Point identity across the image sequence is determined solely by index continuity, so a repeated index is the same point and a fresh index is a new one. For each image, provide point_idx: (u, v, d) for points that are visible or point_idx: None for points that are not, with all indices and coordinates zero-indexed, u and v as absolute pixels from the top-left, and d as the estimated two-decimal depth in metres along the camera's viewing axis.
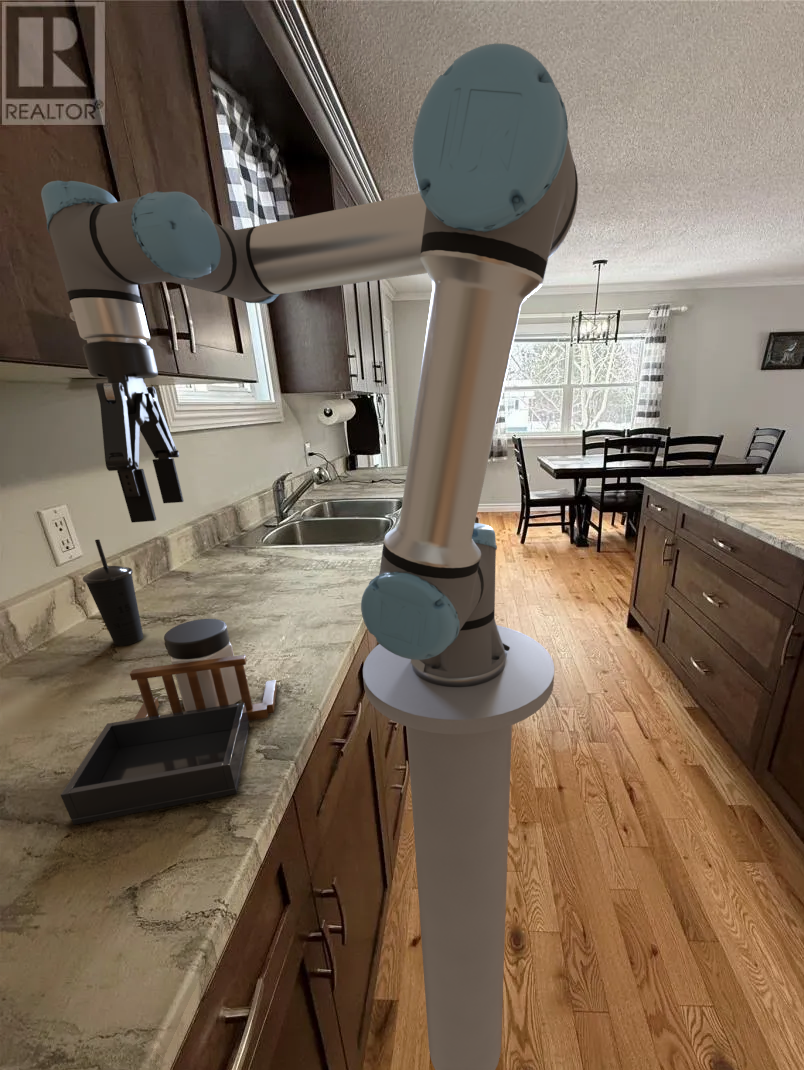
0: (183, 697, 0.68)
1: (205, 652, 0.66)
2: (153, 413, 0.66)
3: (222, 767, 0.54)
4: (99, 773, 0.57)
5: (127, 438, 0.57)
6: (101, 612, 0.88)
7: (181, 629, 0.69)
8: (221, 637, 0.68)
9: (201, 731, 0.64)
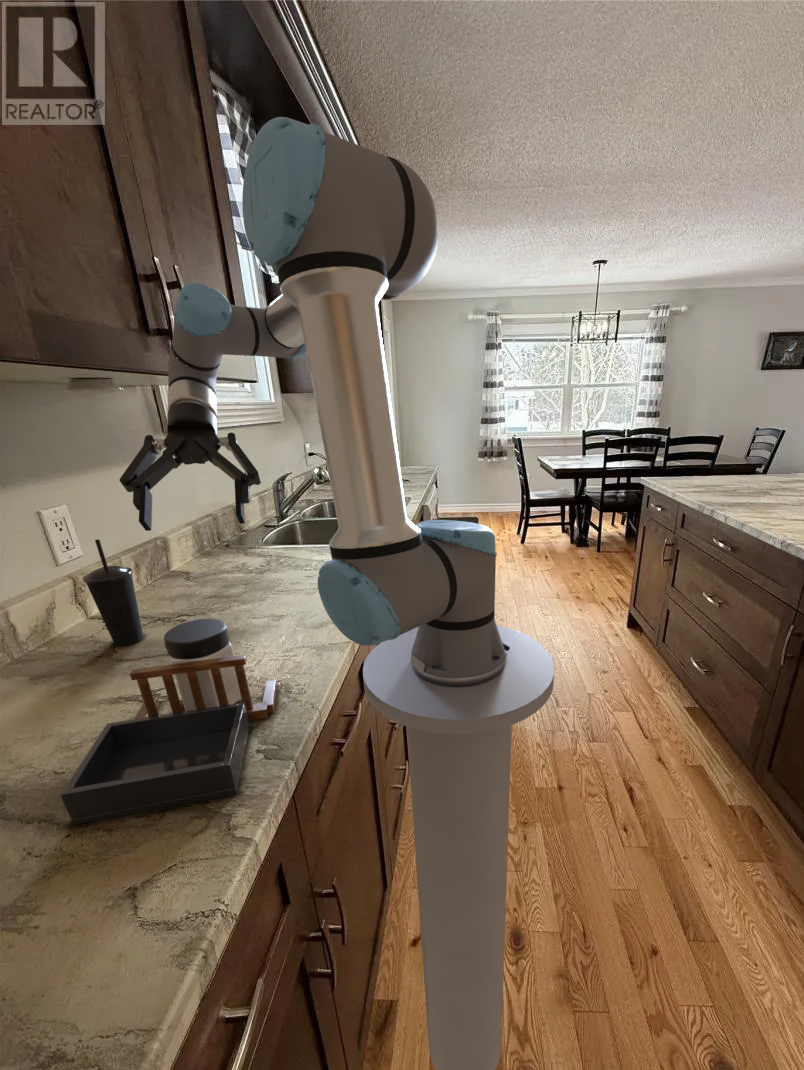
0: (183, 697, 0.68)
1: (205, 652, 0.66)
2: (204, 448, 0.78)
3: (222, 767, 0.54)
4: (99, 773, 0.57)
5: (132, 466, 0.75)
6: (101, 612, 0.88)
7: (181, 629, 0.69)
8: (221, 637, 0.68)
9: (201, 731, 0.64)
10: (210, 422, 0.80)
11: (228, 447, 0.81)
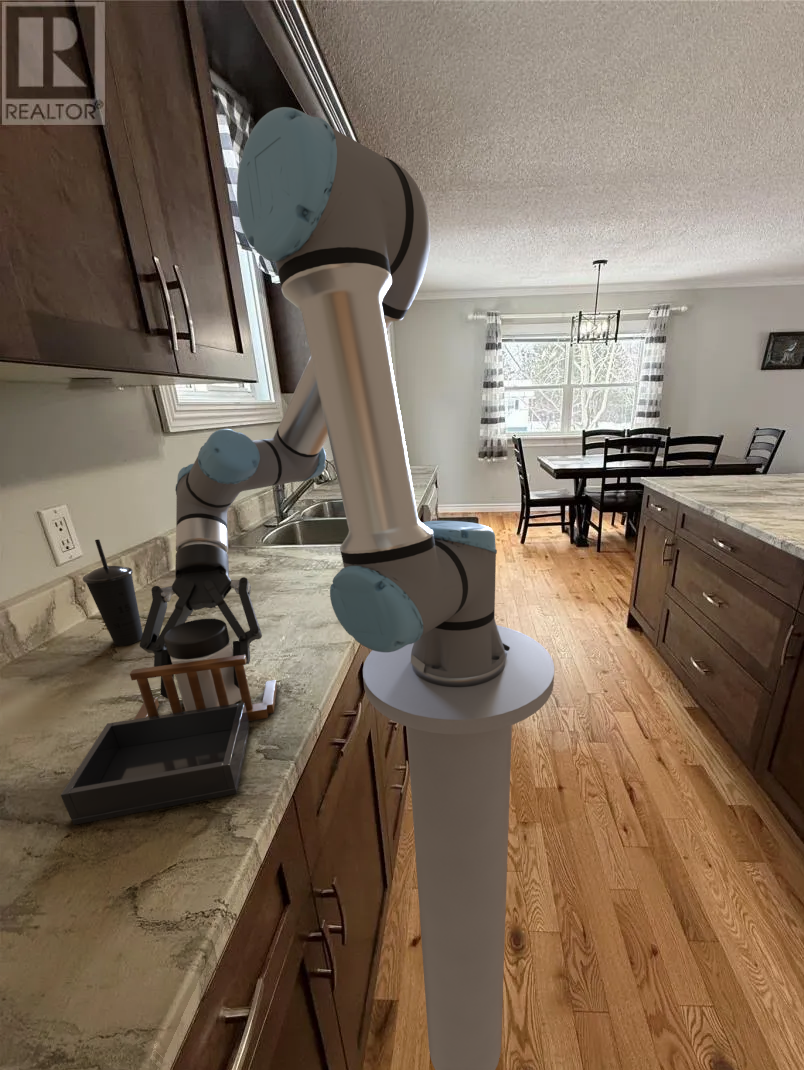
0: (183, 697, 0.68)
1: (205, 652, 0.66)
2: (211, 596, 0.73)
3: (222, 767, 0.54)
4: (99, 773, 0.57)
5: (148, 626, 0.70)
6: (101, 612, 0.88)
7: (181, 629, 0.69)
8: (221, 637, 0.68)
9: (201, 731, 0.64)
10: (221, 564, 0.75)
11: (237, 592, 0.75)
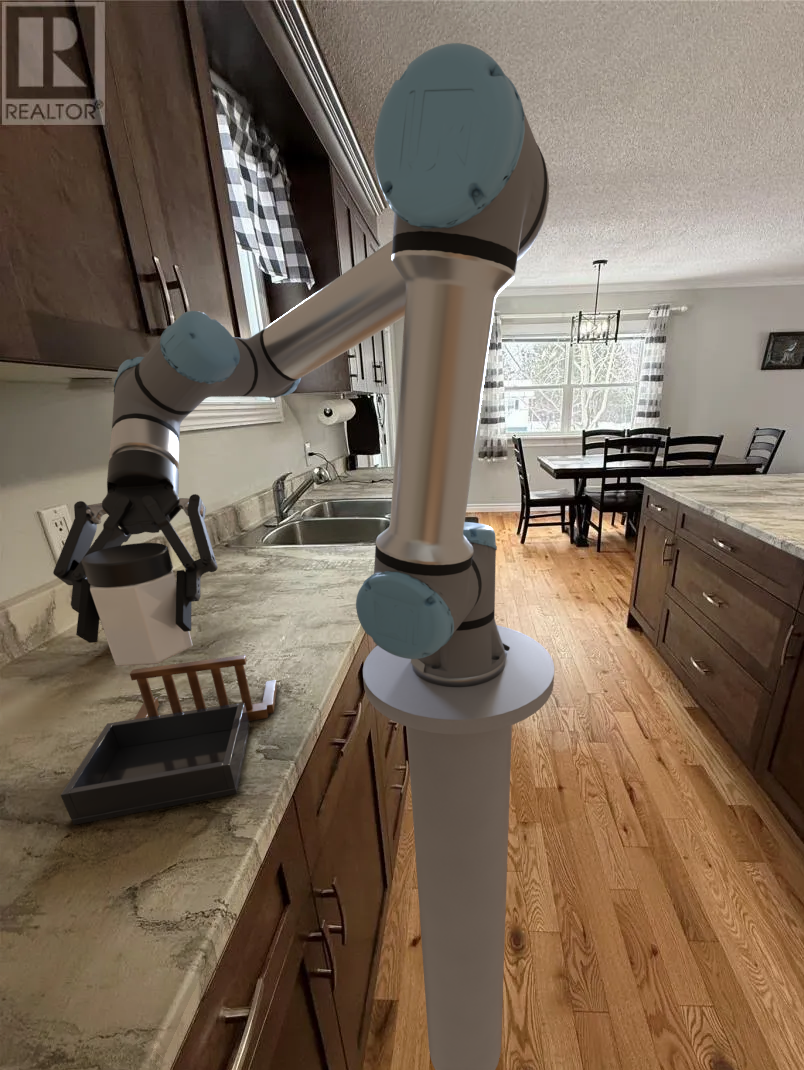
0: (109, 639, 0.52)
1: (135, 578, 0.50)
2: (151, 515, 0.57)
3: (222, 767, 0.54)
4: (99, 773, 0.57)
5: (66, 550, 0.54)
6: None
7: (107, 552, 0.53)
8: (158, 561, 0.52)
9: (201, 731, 0.64)
10: (166, 476, 0.59)
11: (187, 513, 0.59)
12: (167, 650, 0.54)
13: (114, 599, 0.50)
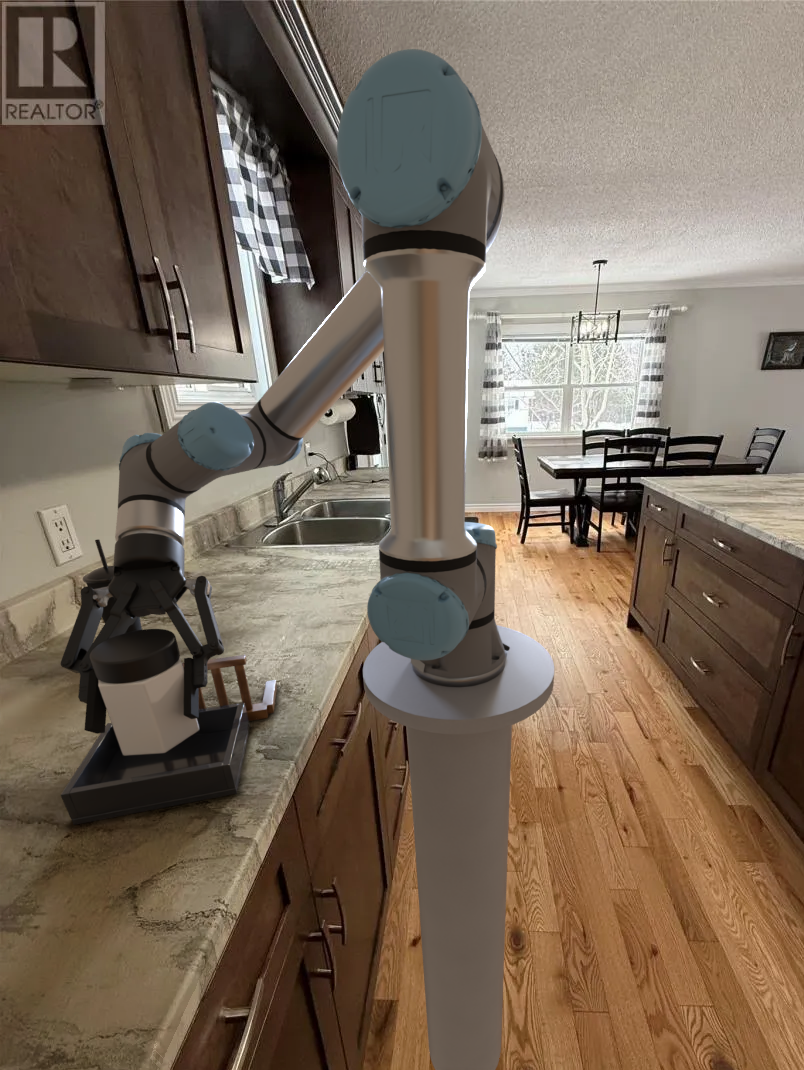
0: (117, 731, 0.52)
1: (143, 674, 0.51)
2: (158, 600, 0.57)
3: (222, 767, 0.54)
4: (99, 773, 0.57)
5: (73, 639, 0.54)
6: None
7: (115, 643, 0.53)
8: (166, 654, 0.52)
9: (201, 731, 0.64)
10: (173, 558, 0.59)
11: (194, 595, 0.59)
12: (174, 738, 0.55)
13: (122, 694, 0.51)
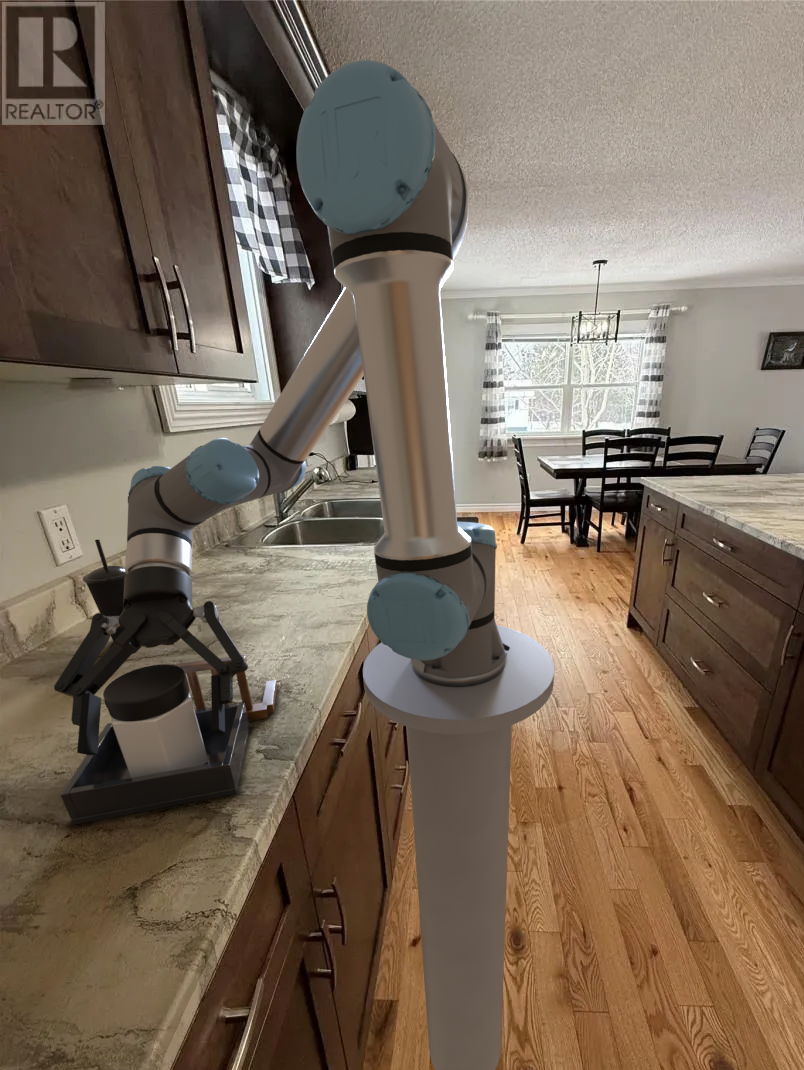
0: (129, 766, 0.54)
1: (155, 712, 0.52)
2: (172, 630, 0.59)
3: (222, 767, 0.54)
4: (99, 773, 0.57)
5: (73, 664, 0.56)
6: (101, 612, 0.88)
7: (127, 680, 0.55)
8: (177, 691, 0.54)
9: (201, 731, 0.64)
10: (181, 590, 0.61)
11: (205, 621, 0.61)
12: None
13: (135, 731, 0.52)
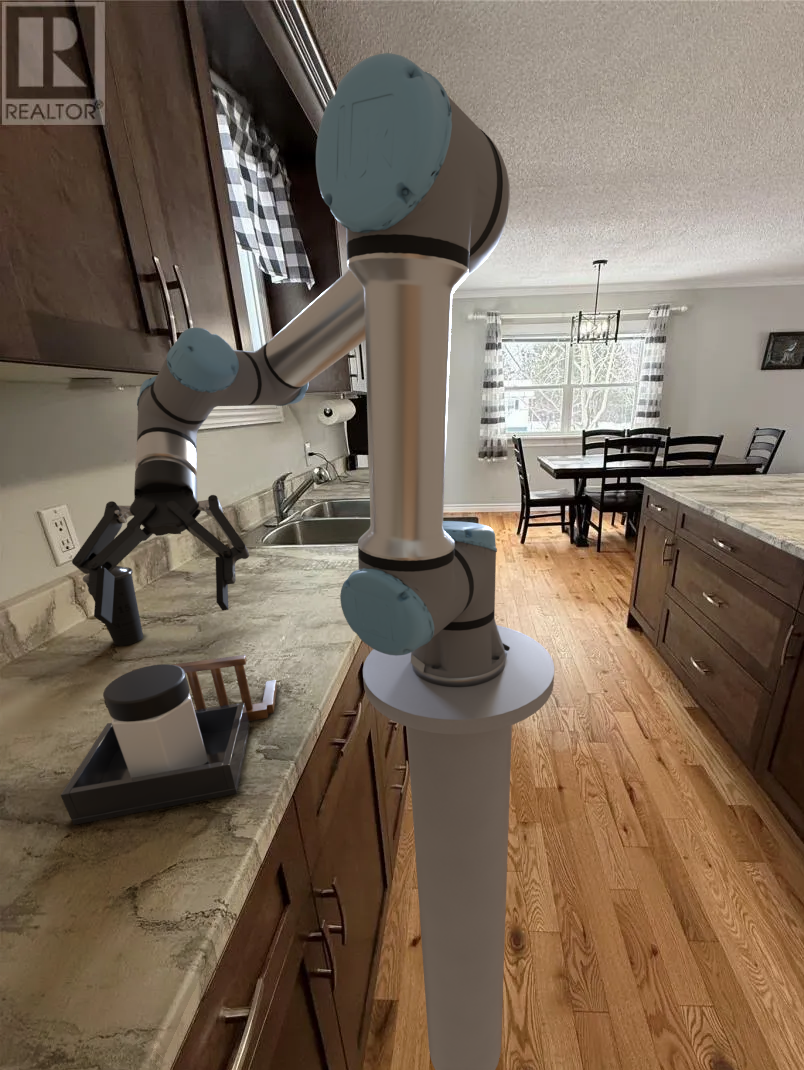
0: (129, 766, 0.54)
1: (155, 712, 0.52)
2: (179, 517, 0.64)
3: (222, 767, 0.54)
4: (99, 773, 0.57)
5: (88, 543, 0.61)
6: None
7: (127, 680, 0.55)
8: (177, 691, 0.54)
9: (201, 731, 0.64)
10: (187, 484, 0.66)
11: (209, 513, 0.66)
12: None
13: (135, 731, 0.52)
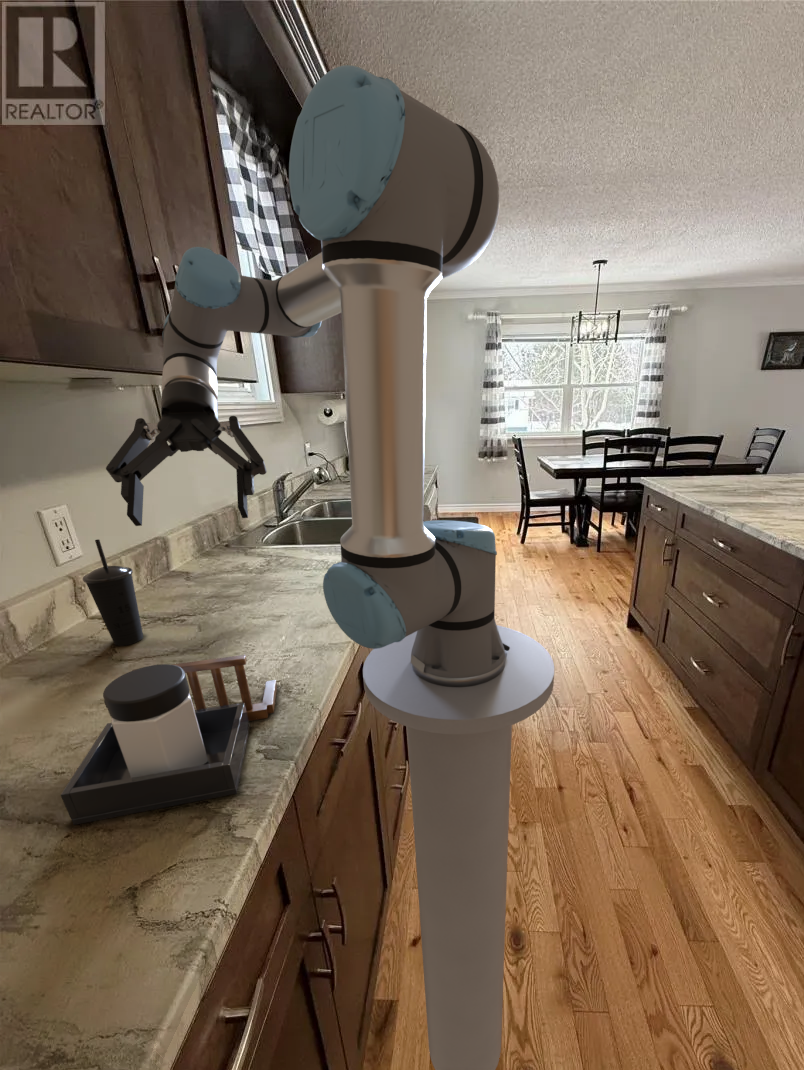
0: (129, 766, 0.54)
1: (155, 712, 0.52)
2: (202, 433, 0.69)
3: (222, 767, 0.54)
4: (99, 773, 0.57)
5: (120, 453, 0.66)
6: (101, 612, 0.88)
7: (127, 680, 0.55)
8: (177, 691, 0.54)
9: (201, 731, 0.64)
10: (210, 404, 0.71)
11: (230, 432, 0.72)
12: None
13: (135, 731, 0.52)
